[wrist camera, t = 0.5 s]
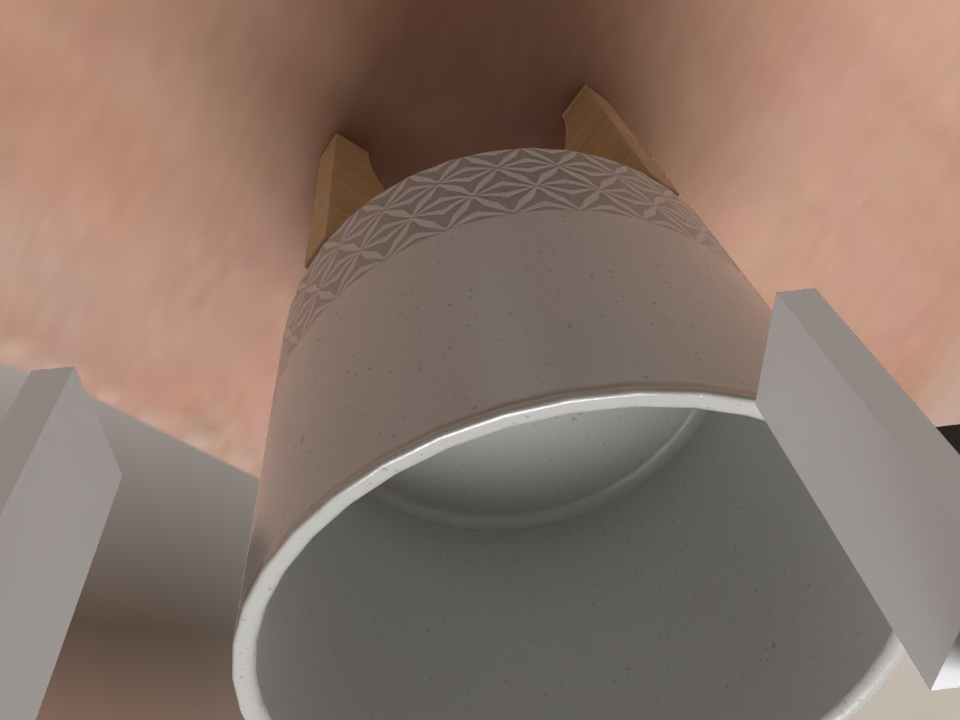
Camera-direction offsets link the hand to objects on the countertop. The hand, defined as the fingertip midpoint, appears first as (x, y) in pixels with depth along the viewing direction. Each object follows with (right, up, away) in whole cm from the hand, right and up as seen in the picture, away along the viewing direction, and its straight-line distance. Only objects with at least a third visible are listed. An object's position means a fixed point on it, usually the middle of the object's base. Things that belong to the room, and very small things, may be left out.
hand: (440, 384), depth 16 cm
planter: (+1, +7, +28) cm, 29 cm away
